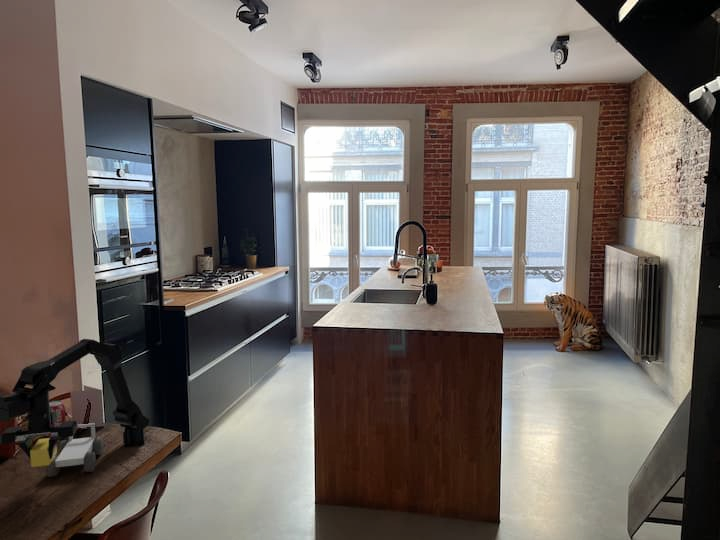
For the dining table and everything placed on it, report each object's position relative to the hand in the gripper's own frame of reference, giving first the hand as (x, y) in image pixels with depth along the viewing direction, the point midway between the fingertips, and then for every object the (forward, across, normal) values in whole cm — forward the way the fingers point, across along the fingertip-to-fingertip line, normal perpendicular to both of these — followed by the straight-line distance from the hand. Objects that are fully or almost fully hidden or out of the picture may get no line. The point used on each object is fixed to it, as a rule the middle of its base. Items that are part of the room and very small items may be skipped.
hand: (42, 459), depth 151 cm
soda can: (+10, +9, -43) cm, 45 cm away
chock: (+1, 0, -2) cm, 2 cm away
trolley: (+10, -5, -15) cm, 19 cm away
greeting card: (+10, -1, -47) cm, 48 cm away
